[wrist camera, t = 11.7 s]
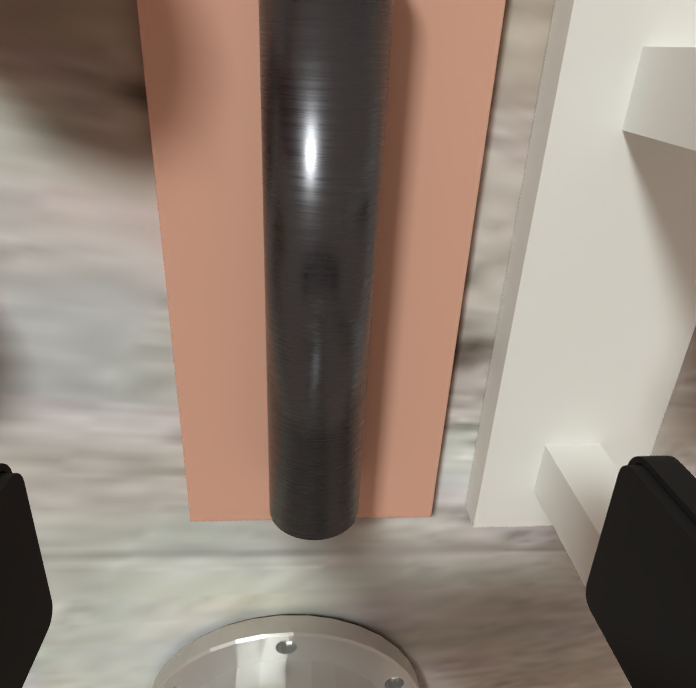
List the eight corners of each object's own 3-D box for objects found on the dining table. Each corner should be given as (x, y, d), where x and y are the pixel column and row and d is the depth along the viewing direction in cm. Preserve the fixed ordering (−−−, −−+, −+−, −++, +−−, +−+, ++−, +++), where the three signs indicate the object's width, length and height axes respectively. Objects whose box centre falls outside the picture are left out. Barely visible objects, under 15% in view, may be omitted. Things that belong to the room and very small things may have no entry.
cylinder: (354, 476, 21) (362, 538, 19) (271, 477, 21) (267, 540, 18) (388, -52, 14) (409, -74, 11) (261, -60, 14) (251, -84, 11)
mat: (427, 505, 23) (430, 516, 22) (193, 509, 22) (190, 521, 22) (518, -144, 14) (527, -151, 13) (125, -174, 13) (117, -183, 12)
